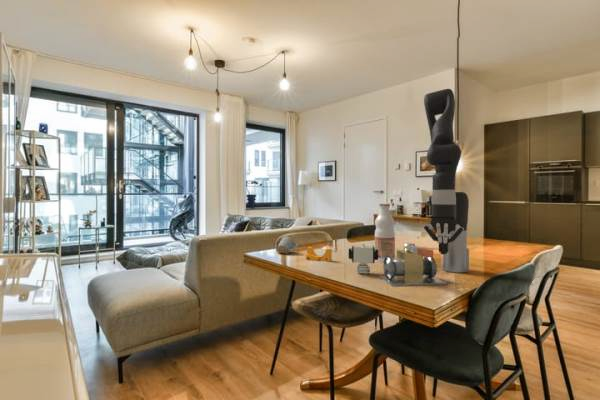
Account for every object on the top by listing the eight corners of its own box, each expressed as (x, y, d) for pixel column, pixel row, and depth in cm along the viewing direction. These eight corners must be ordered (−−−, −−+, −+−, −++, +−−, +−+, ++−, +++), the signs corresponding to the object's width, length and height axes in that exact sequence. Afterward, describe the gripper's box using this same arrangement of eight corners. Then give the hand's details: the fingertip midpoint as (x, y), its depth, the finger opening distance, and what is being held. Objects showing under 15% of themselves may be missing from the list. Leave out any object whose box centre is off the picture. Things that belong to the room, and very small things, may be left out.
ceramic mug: (281, 257, 171) (273, 247, 170) (288, 248, 177) (280, 237, 176) (294, 253, 164) (285, 242, 163) (301, 243, 170) (292, 232, 169)
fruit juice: (370, 261, 154) (370, 203, 154) (383, 259, 159) (383, 203, 159) (385, 264, 146) (386, 204, 146) (398, 262, 152) (398, 204, 152)
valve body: (427, 275, 125) (427, 248, 125) (446, 284, 112) (446, 253, 112) (378, 277, 122) (379, 249, 122) (392, 286, 110) (392, 255, 109)
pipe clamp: (305, 261, 155) (305, 248, 155) (309, 259, 159) (309, 246, 159) (328, 263, 149) (328, 249, 149) (331, 262, 153) (331, 248, 153)
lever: (412, 249, 121) (412, 243, 121) (435, 257, 104) (435, 249, 104) (402, 249, 120) (402, 243, 120) (424, 257, 104) (424, 250, 104)
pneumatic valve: (378, 275, 125) (378, 245, 125) (348, 273, 128) (348, 244, 128) (377, 272, 131) (377, 243, 131) (349, 270, 133) (349, 242, 133)
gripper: (467, 203, 106) (467, 254, 106) (426, 203, 115) (426, 250, 115) (462, 203, 101) (462, 257, 101) (420, 203, 109) (420, 253, 109)
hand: (443, 253), depth 108 cm, fingers closed
